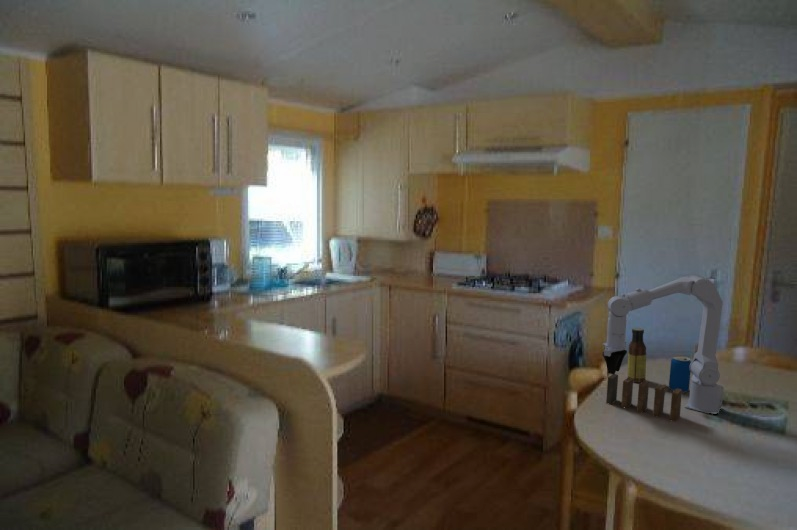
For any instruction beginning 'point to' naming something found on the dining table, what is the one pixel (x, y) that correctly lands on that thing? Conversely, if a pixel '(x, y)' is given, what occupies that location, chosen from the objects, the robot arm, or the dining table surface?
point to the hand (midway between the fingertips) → (613, 372)
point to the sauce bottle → (637, 356)
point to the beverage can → (680, 373)
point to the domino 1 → (612, 388)
